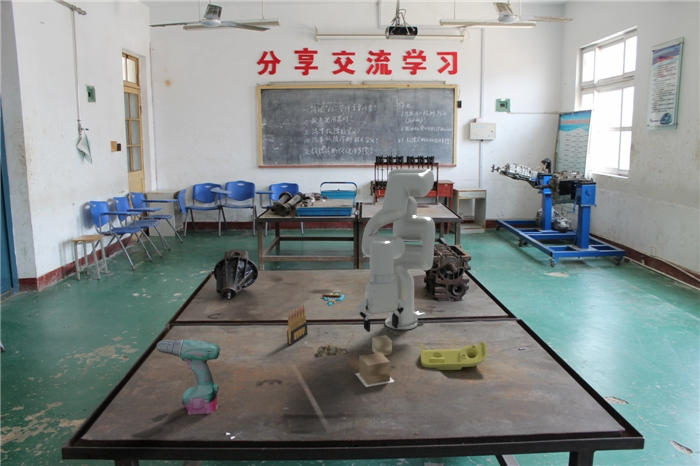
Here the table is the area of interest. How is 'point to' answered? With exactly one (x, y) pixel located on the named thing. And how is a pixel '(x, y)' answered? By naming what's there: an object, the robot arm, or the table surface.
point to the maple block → (382, 345)
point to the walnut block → (374, 368)
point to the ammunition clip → (296, 325)
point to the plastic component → (454, 357)
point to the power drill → (196, 372)
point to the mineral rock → (330, 351)
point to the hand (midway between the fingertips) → (381, 328)
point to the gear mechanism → (333, 297)
